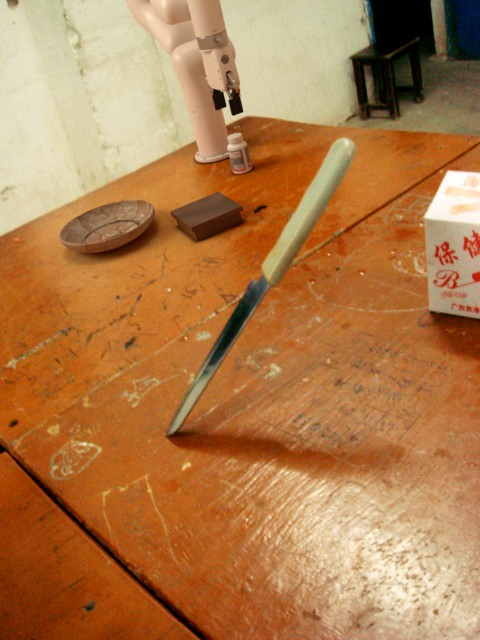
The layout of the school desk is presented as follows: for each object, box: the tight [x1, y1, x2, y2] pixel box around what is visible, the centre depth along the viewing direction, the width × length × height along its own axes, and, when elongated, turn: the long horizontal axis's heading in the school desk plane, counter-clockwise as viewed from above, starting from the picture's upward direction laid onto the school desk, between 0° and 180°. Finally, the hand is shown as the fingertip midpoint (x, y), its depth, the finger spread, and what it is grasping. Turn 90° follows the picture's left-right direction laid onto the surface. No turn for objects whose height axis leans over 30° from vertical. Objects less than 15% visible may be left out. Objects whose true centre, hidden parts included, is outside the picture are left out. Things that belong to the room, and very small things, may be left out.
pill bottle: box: [227, 132, 253, 175], centre depth 171 cm, size 5×5×10 cm
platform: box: [169, 191, 244, 242], centre depth 148 cm, size 13×13×4 cm
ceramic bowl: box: [58, 199, 156, 254], centre depth 153 cm, size 23×24×5 cm
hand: (229, 111), depth 164 cm, fingers open, 9 cm apart
